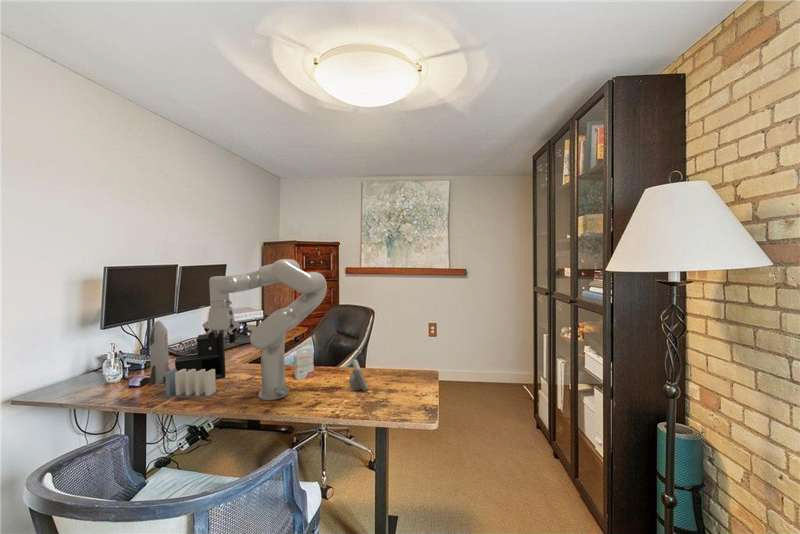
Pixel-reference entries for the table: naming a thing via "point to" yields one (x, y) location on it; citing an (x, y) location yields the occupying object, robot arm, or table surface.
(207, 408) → the table surface
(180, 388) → the domino
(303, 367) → the ink cartridge box
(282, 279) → the robot arm
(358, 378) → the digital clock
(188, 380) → the domino
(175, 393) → the mat
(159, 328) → the rocket model
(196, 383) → the domino
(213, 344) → the black desk organizer
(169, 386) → the domino
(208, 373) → the domino
